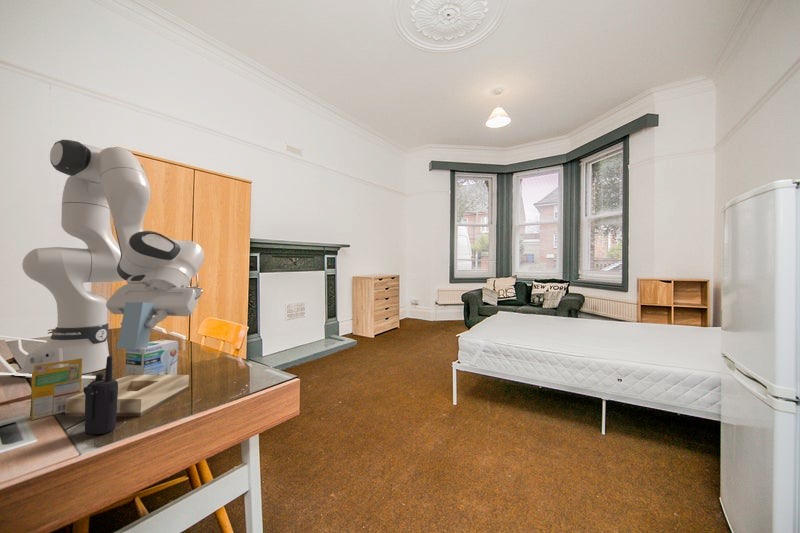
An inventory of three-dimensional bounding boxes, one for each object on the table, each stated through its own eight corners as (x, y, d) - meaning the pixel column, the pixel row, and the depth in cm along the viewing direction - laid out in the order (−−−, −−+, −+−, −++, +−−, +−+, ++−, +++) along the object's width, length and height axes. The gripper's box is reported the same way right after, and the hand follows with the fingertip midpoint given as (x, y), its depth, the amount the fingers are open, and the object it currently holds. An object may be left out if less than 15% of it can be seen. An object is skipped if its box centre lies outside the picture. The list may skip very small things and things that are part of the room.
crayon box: (78, 405, 71) (80, 356, 71) (80, 408, 69) (83, 358, 70) (29, 416, 65) (32, 363, 65) (30, 420, 63) (33, 365, 64)
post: (117, 348, 71) (125, 302, 73) (130, 347, 75) (138, 303, 77) (135, 348, 71) (143, 302, 73) (147, 347, 75) (154, 303, 77)
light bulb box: (142, 387, 82) (144, 348, 83) (123, 385, 84) (124, 346, 84) (178, 375, 93) (179, 340, 93) (160, 373, 94) (162, 338, 95)
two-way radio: (120, 428, 61) (124, 354, 61) (95, 440, 57) (99, 360, 57) (98, 425, 62) (101, 352, 62) (71, 437, 57) (75, 358, 58)
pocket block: (65, 416, 65) (65, 398, 66) (128, 388, 81) (128, 374, 81) (140, 416, 66) (141, 399, 66) (188, 388, 82) (189, 374, 82)
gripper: (209, 294, 87) (185, 335, 77) (135, 291, 85) (101, 332, 75) (201, 279, 82) (174, 320, 72) (122, 276, 81) (85, 317, 71)
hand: (136, 326), depth 74 cm, fingers closed on post, 4 cm apart
